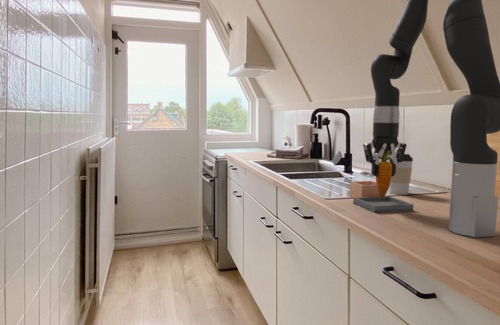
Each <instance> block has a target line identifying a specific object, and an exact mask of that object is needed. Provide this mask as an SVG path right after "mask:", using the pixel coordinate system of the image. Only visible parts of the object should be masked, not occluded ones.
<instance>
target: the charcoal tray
mask: <svg viewBox="0 0 500 325" xmlns="http://www.w3.org/2000/svg"><path fill="white" fill-rule="evenodd" d="M352 199H353V202H352V204H353V205H356V206H358V207H360V208H363V209H365V210H367V211H369V212H371V213H377V214H379V213H380V214H381V213H398V212H399V213H400V212H413V211H414V203H410V202H407V201H404V200H401V199H398V198H395V197H393V196H389V195H388V196H387V195H385V196H384V197H383V198H382V197H381V196H380V197H355V198H352Z"/></svg>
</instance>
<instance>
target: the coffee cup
mask: <svg viewBox="0 0 500 325" xmlns="http://www.w3.org/2000/svg"><path fill="white" fill-rule="evenodd" d="M413 161H414V159H413V157H412V156H411V155H410V153H404V157H403V161H402V162H399V163H397V164H396V173H395V174H394V176H391V182H390V186H389V189H388V193H389V194H393V195H409V189H410V183H411V178H412V169H413V167H412V166H413ZM387 162H389V159H388V160H387Z"/></svg>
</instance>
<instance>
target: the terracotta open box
mask: <svg viewBox="0 0 500 325" xmlns="http://www.w3.org/2000/svg"><path fill="white" fill-rule="evenodd" d="M348 194H349V198H352V199H353V198H355V197H380V194H379V192H378V189H377V185H376V181H373V180H358V181H356V180H354V181H351V180H350V181H349V193H348Z"/></svg>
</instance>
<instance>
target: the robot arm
mask: <svg viewBox="0 0 500 325" xmlns="http://www.w3.org/2000/svg"><path fill="white" fill-rule="evenodd" d="M428 5H429V0H407V1H406V4H405V6H404V9H403V11H402V13H401V15H400V18H399V19H398V21H397V22H396V23H397V24H396V26H395V27H394V29H393V31H392V34H391V36H390V37H389V38H390V39H389V42H388V44H389V45H390V47H392V48H393V49H394V53H393V54H378V55H376V56H375V57H374V59H373V60H372V62H371V65H370V74H371V75H370V76H371V80H372V84H373V88H374V93H375V95H374V98H375V99H374V111H373V118H372V119H373V120H372V121H373V122H372V123H373V124H372V137H373V138H372V141H371V142H368V143H366V142H365V143H363V144H362V146H363V151H364V152H363V153H364V157H365V158H364V159H365V161H366V162H367V163H370V165H371V175H372V177H375V178H376V177H378V175H379V165H378V164H379V162H380V161H381V159H380V158H382V155H383V154H384V153H385V154H387V153H388V150H390V154H389V155H388V157H391V158H389V162H390V163H391V164H392V176H394V174H395V173H396V164H397V163H399V162H402V161H403V157H404V154H406V153H405V152H406V150H407V146H408V145H407V143H403V142H402V143H401V142H399V140H398V137H399V129H400V92H401V91H400V89H399V88H398V87H396V86H394V85H393V84H392V81H391V80H398V79H400V78H401V77H403V76H404V75H405V74H406V72H407V70H408V68H409V64H410V60H411V58H412V57H411V56H412V53H413V49H414V46H415V44H416V42H417V41H418V39H419V37H420V35H421V33H422V32H423V30H424V27H425V25H426V22H427V15H428ZM483 6H484V5H483V1H482V0H449V4H448V6H447V9H446V12H445V15H444V18H443V25H442V26H443V28H442V29H443V35H444V40H445V45H446V50H447V53H448V54H449V56H450V58H451V59H452V60H453V62H454V64H455V65H456V67H457V68H458V70H459V71H460V72H461V74H462V75H463V76H464V78H465V81H466V82H467V86H468V89H469V94H466V95H463V96H461V97H459V98H458V99H457V100H456V102H454V104H453V107H452V109H451V113H450V127H449V128H450V137H449V138H450V139H449V141H450V143H449V145H450V149H451V153H452V171H451V173H452V174H451V184H450V185H451V186H450V198H449V199H450V200H449V216H448V217H449V218H448V231H450V232H452V233H454V234H458V235H462V236H468V237H471V238H487V237H495V236H496V233H497V232H496V230H497V228H496V227H497V220H498V219H497V218H498V205H499V196H496V194H495V193H496V181H497V170H498V169H497V168H498V158H499V157H498V156H499V155H498V152H497V151H496V150H495V149H493V148H491V147H490V145H489V144H488V139H487V137H488V136H487V134H488V135H489V134H495V133H498V132H500V78H499V76H498V72H497V68H496V63H495V58H494V54H493V51H492V45H491V42H490V41H491V40H490V34H489V29H488V24H487V18H486V16H485V12H484V7H483ZM373 149H374V150H373ZM372 150H373V151H372ZM388 157H387V158H388Z"/></svg>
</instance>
